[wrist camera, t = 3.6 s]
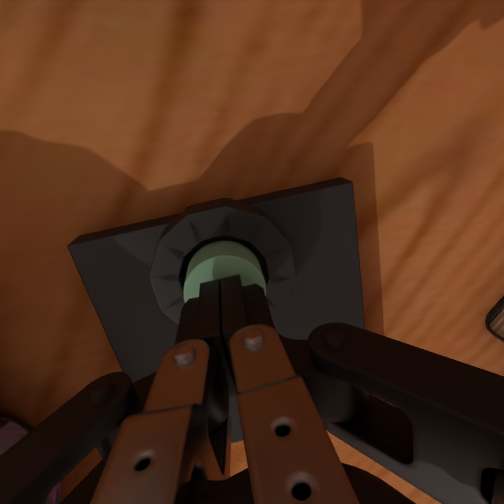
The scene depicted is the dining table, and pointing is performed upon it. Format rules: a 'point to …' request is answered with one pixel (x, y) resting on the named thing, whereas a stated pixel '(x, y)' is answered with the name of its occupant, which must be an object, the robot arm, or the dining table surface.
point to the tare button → (222, 266)
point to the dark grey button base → (237, 230)
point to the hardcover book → (496, 321)
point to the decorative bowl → (10, 432)
